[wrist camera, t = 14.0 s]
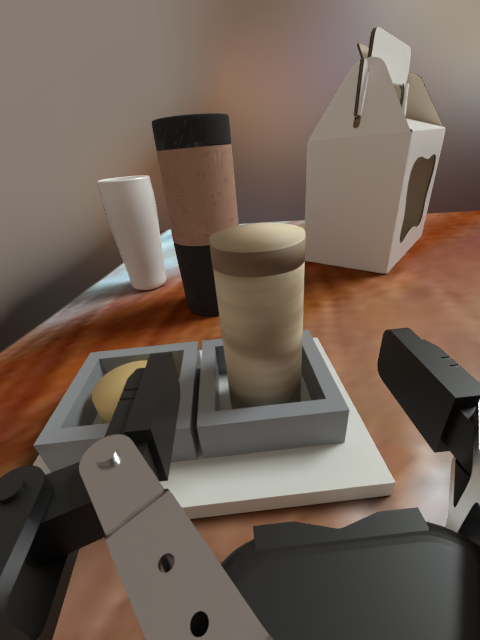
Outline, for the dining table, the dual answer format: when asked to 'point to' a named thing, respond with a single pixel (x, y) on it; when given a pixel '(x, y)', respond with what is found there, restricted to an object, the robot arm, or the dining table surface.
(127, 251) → the white cylinder
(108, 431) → the robot arm
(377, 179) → the gable box
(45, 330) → the dining table surface
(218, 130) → the travel mug
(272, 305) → the lidded cup
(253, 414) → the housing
